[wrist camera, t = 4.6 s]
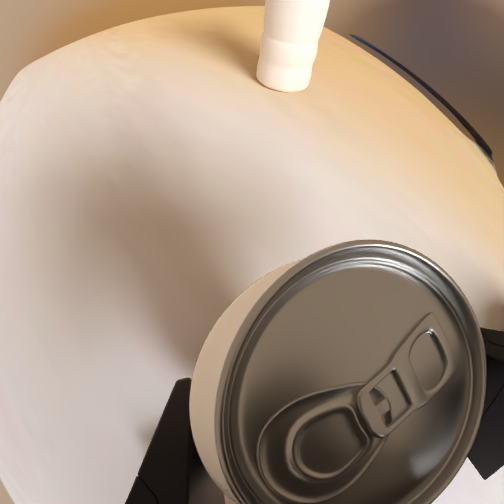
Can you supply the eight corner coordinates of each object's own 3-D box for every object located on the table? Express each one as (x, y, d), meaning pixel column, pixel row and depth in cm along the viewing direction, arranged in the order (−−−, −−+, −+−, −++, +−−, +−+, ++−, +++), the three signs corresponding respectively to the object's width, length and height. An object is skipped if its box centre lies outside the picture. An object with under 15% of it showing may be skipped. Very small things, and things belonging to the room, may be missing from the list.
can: (179, 359, 14) (100, 312, 3) (279, 311, 16) (409, 183, 5) (234, 456, 12) (308, 599, 1) (330, 401, 14) (513, 402, 3)
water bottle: (267, 96, 29) (298, -92, 6) (248, 71, 32) (267, -87, 9) (317, 93, 31) (362, -72, 8) (294, 69, 33) (324, -75, 10)
